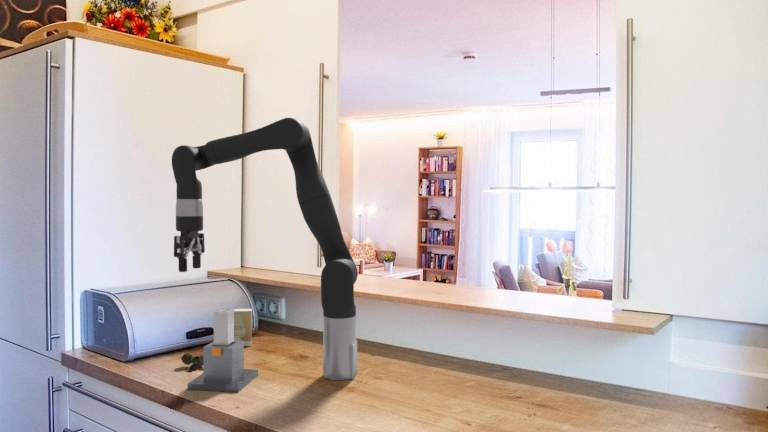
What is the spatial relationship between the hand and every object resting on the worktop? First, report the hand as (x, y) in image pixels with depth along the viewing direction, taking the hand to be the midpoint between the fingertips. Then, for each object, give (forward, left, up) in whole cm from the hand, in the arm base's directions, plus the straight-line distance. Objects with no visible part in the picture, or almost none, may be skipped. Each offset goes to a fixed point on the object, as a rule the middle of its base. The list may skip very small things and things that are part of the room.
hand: (190, 269), depth 161 cm
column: (-15, +10, -28) cm, 33 cm away
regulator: (-4, -1, -30) cm, 30 cm away
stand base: (-15, +10, -29) cm, 34 cm away
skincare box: (-5, -27, -29) cm, 40 cm away
